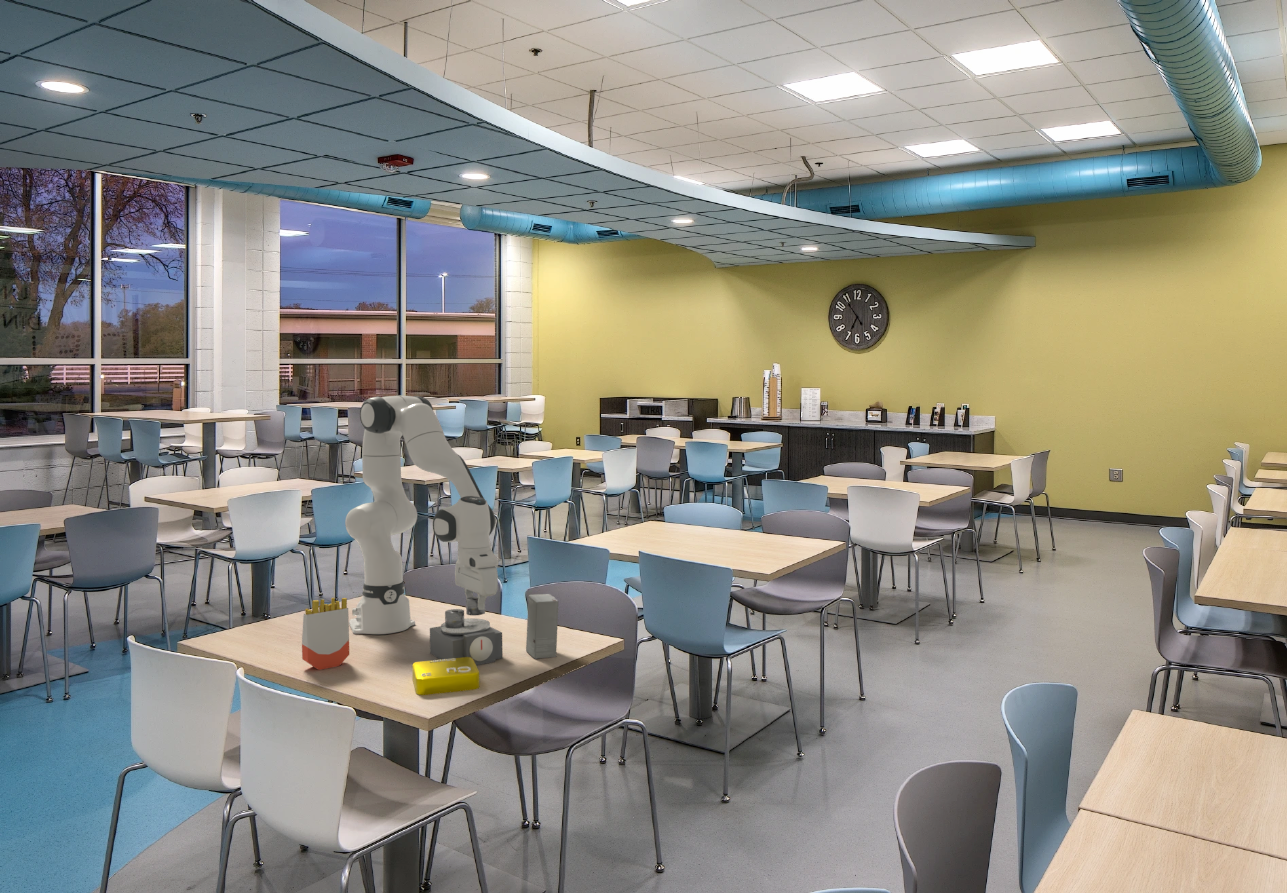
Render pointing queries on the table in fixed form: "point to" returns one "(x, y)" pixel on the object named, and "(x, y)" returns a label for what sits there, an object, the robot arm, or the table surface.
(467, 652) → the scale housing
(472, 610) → the spacer
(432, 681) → the element tile
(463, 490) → the robot arm
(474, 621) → the scale pan
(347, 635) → the french fries container
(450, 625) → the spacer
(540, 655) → the skincare box
